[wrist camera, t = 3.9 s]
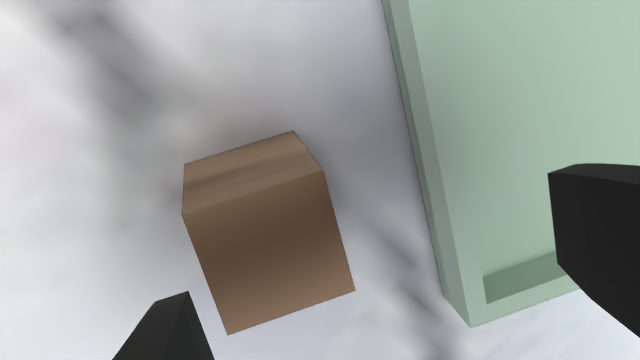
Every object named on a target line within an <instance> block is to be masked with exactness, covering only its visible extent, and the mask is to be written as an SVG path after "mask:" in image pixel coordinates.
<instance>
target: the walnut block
mask: <svg viewBox="0 0 640 360" xmlns="http://www.w3.org/2000/svg"><path fill="white" fill-rule="evenodd" d="M182 217H183V220H184V223H185V225H186V228H187V230H188V233H189V236H190V238H191V241H192V244H193V246H194V249H195V251H196V254H197V257H198V259H199V262H200V264H201V267H202V270H203V272H204V275H205V278H206V280H207V283H208V285H209V288H210V291H211V293H212V296H213V299H214V301H215V304H216V306H217V309H218V312H219V314H220V317H221V319H222V322H223V325H224V327H225V330H226V333H227V335H230V334H233V333H236V332H239V331H242V330H245V329H247V328H250V327H253V326H256V325H259V324H262V323H265V322H267V321H270V320H273V319H276V318H279V317H282V316H285V315H287V314H290V313H293V312H296V311H299V310H302V309H304V308H307V307H310V306H313V305H316V304H319V303H322V302H324V301H327V300H330V299H333V298H336V297H339V296H342V295H344V294H347V293H350V292H353V291H356V290H355V287H354V283H353V279H352V276H351V272H350V268H349V265H348V261H347V257H346V254H345V250H344V246H343V243H342V239H341V235H340V232H339V228H338V224H337V221H336V217H335V213H334V210H333V206H332V202H331V199H330V195H329V191H328V188H327V184H326V180H325V177H324V173H323V170H322V168H321V167H320V166H319V164H318V163H317V162H316V160H315V159H314V158H313V156H312V155H311V154H310V152H309V151H308V150H307V148H306V147H305V146H304V144H303V143H302V142H301V141H300V139H299V138H298V137H297V135H296V134H295V133H294V131H290V132H286V133H283V134H280V135H277V136H274V137H270V138H267V139H264V140H261V141H258V142H254V143H251V144H248V145H245V146H241V147H238V148H235V149H232V150H229V151H225V152H222V153H219V154H216V155H213V156H209V157H206V158H203V159H200V160H197V161H193V162H190V163H187V164H184V182H183V200H182Z"/></svg>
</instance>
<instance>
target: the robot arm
mask: <svg viewBox="0 0 640 360" xmlns="http://www.w3.org/2000/svg"><path fill="white" fill-rule="evenodd" d="M547 175H548V184H549V193H550V202H551V211H552V220H553V229H554V238H555V247H556V256H557V264H558V265H559V266H560V267H561V268H562V269H563V270H564V271H565V272H566V273H567V275H568V276H569V277H570V278H571V279H572V280H573V281H574V282H575V283H576V284H577V285H578V286H579V287H580V288H581V289H582V290H583V291H584V292H585V293H586V294H587V295H588V296H589V297H590V298H591V299H592V300H593V301H594V302H595V303H597V304H598V305H599V306H600V307H602V308H603V309H604V310H605V311H607V312H608V313H609V314H610V315H612V316H613V317H614V318H615V319H617V320H618V321H619V322H620V323H622V324H623V325H624V326H625V327H627V328H628V329H629V330H631V331H632V332H633V333H634V334H636V335H637V336H638V337H640V166H638V165H624V164H605V163H583V164H574V165H571V166H568V167H565V168H562V169H558V170H555V171H552V172H549V173H547ZM112 360H215V359H214V357H213V354H212V352H211V349H210V346H209V344H208V341H207V338H206V336H205V333H204V331H203V328H202V325H201V323H200V320H199V318H198V315H197V312H196V310H195V307H194V304H193V302H192V299H191V297H190V294H189V291H186V292H183V293H180V294H177V295H174V296H171V297H168V298H165V299H162V300H159V301H156V302H155V303H154V304H153V305H152V306H151V307H150V309H149V310H148V311H147V313H146V314H145V315H144V317H143V318H142V319H141V321H140V322H139V324H138V325H137V326H136V328H135V329H134V331H133V332H132V333H131V335H130V336H129V338H128V339H127V340H126V342H125V343H124V344H123V346H122V347H121V349H120V350H119V351H118V353H117V354H116V355H115V357H114V358H113V359H112Z"/></svg>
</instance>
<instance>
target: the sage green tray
mask: <svg viewBox="0 0 640 360" xmlns="http://www.w3.org/2000/svg"><path fill="white" fill-rule="evenodd" d="M382 3H383V8H384V13H385V18H386V22H387V27H388V32H389V37H390V42H391V47H392V51H393V56H394V61H395V66H396V71H397V75H398V80H399V85H400V90H401V95H402V99H403V104H404V109H405V114H406V119H407V123H408V128H409V133H410V138H411V143H412V147H413V152H414V157H415V162H416V167H417V171H418V176H419V181H420V186H421V191H422V195H423V200H424V205H425V210H426V215H427V219H428V224H429V229H430V234H431V239H432V243H433V248H434V253H435V258H436V263H437V267H438V272H439V277H440V282H441V287H442V291H443V296H444V297H445V299H446V300H447V301H448V302H449V303H450V304H451V306H452V307H453V308H454V309H455V310H456V312H457V313H458V314H459V315H460V316H461V317H462V319H463V320H464V321H465V322H466V323H467V325H468V326H469V327H470V328H474V327H477V326H479V325H482V324H485V323H487V322H490V321H493V320H496V319H498V318H501V317H504V316H506V315H509V314H512V313H515V312H517V311H520V310H523V309H525V308H528V307H531V306H533V305H536V304H539V303H542V302H544V301H547V300H550V299H552V298H555V297H558V296H560V295H563V294H566V293H569V292H571V291H574V290H577V289H579V288H580V287H579V286H578V285H577V284H576V283H575V282H574V281H573V280H572V279H571V278H570V277H569V276H568V275H567V273H566V272H565V271H564V270H563V269H562V268H561V267H560V266H559V265H558V264H557V256H556V247H555V238H554V229H553V220H552V211H551V202H550V193H549V184H548V175H547V173H549V172H552V171H555V170H558V169H562V168H565V167H568V166H571V165H574V164H583V163H605V164H624V165H638V166H640V0H382Z"/></svg>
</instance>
